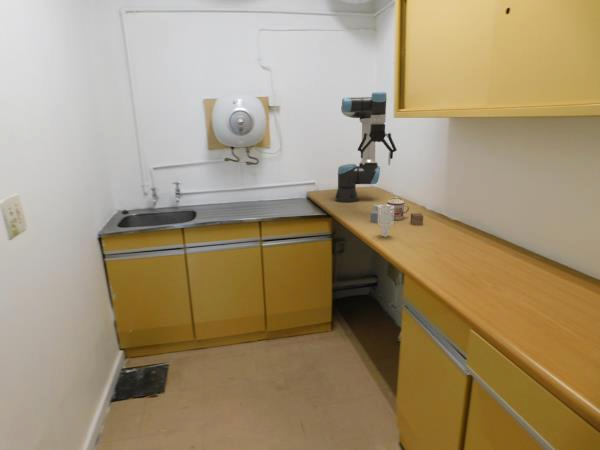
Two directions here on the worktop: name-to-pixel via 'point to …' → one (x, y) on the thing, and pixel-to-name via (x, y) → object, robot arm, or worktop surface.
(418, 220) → the walnut block
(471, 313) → the worktop surface
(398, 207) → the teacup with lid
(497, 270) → the worktop surface
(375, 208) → the sage block
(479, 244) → the worktop surface
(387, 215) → the pale grey tall piece
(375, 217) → the slate block
